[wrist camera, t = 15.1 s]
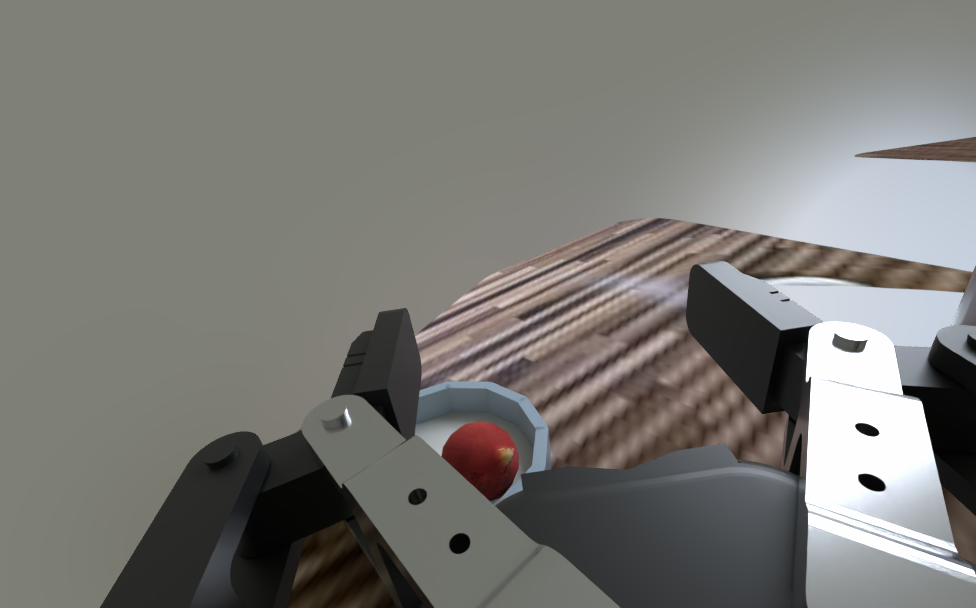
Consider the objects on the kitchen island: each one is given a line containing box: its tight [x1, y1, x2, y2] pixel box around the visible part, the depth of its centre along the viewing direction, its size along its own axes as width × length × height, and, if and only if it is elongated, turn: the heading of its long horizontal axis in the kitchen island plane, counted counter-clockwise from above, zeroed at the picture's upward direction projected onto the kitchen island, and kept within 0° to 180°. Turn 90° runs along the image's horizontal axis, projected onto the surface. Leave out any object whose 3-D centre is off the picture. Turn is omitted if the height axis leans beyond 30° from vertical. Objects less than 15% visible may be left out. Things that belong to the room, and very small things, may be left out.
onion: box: [441, 421, 519, 501], centre depth 33 cm, size 6×6×8 cm
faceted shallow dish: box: [415, 382, 551, 506], centre depth 37 cm, size 16×16×4 cm
